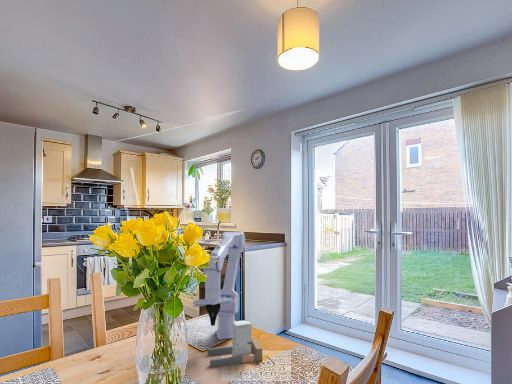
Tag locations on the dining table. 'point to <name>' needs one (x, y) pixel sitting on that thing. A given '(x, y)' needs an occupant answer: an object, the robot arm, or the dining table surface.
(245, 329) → the skincare box
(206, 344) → the dining table surface
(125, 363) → the dining table surface
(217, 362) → the guide channel
